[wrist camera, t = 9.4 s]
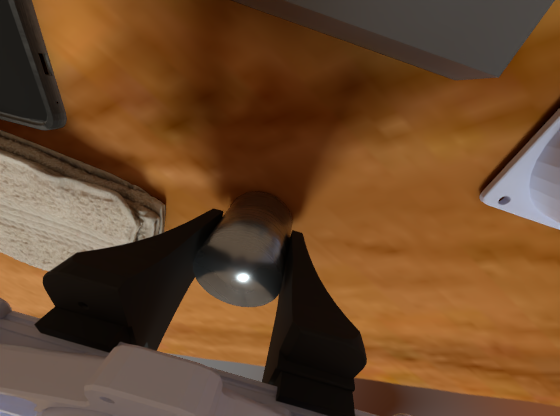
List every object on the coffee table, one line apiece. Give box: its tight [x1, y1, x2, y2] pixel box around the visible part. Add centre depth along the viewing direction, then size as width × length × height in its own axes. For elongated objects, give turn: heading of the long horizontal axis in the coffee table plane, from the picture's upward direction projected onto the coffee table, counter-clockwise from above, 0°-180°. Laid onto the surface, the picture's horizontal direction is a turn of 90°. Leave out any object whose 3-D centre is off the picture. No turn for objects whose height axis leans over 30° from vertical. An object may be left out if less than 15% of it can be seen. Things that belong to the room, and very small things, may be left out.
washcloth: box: [0, 130, 165, 271], centre depth 16 cm, size 12×18×3 cm, turn 70°
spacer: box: [193, 192, 292, 307], centre depth 12 cm, size 4×4×5 cm
